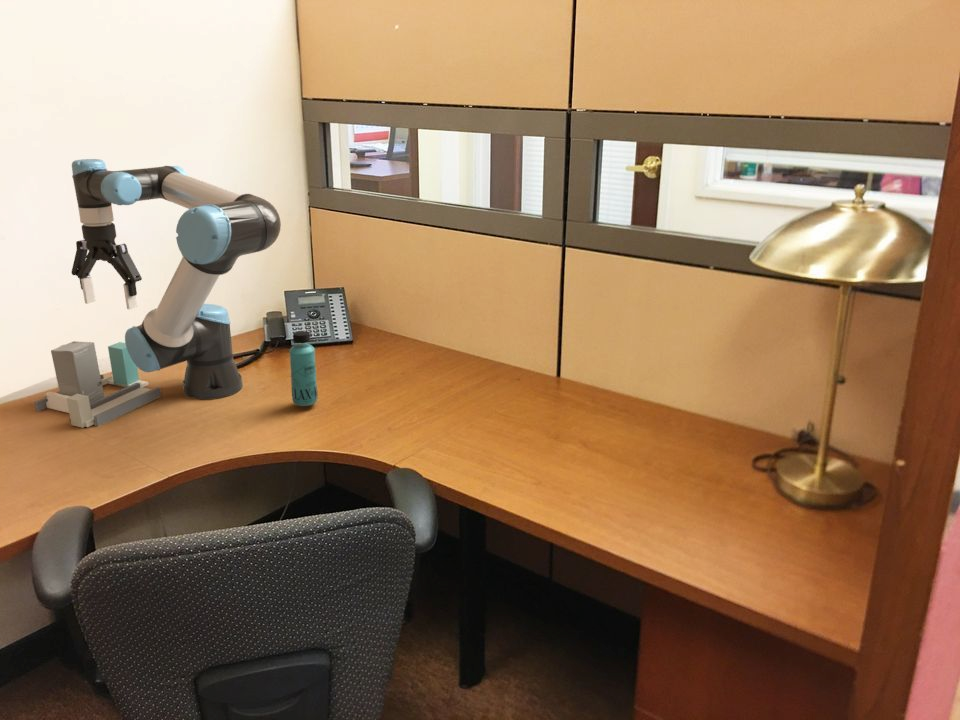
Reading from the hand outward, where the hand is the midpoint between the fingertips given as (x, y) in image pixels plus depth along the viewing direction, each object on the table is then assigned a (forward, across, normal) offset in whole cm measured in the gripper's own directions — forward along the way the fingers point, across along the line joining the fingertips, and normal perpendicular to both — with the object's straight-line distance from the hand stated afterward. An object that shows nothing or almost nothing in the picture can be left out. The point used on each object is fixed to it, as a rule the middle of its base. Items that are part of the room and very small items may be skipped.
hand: (111, 305), depth 196 cm
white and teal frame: (+22, 0, +8) cm, 24 cm away
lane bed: (+23, -3, +11) cm, 26 cm away
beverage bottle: (+23, -52, -6) cm, 57 cm away
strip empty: (+22, -9, +13) cm, 28 cm away
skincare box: (+23, +1, +13) cm, 26 cm away
